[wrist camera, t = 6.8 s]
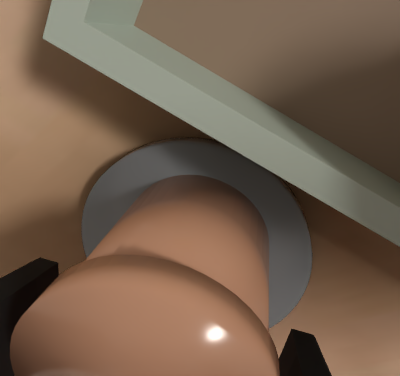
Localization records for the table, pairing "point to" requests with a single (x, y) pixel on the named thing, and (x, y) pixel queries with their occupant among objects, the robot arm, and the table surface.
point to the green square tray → (265, 84)
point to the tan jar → (160, 293)
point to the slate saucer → (226, 172)
